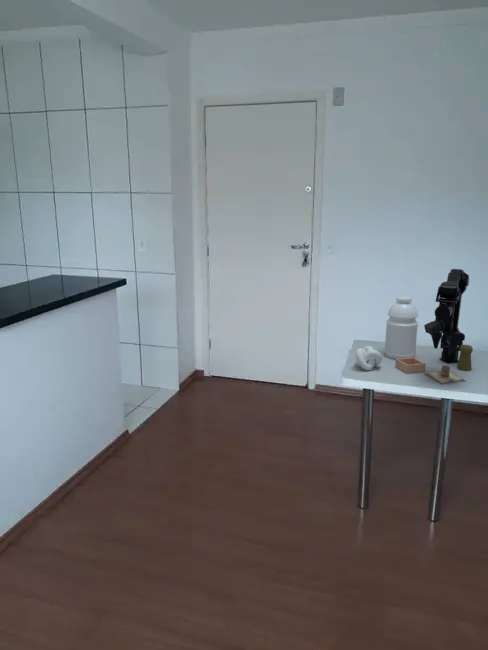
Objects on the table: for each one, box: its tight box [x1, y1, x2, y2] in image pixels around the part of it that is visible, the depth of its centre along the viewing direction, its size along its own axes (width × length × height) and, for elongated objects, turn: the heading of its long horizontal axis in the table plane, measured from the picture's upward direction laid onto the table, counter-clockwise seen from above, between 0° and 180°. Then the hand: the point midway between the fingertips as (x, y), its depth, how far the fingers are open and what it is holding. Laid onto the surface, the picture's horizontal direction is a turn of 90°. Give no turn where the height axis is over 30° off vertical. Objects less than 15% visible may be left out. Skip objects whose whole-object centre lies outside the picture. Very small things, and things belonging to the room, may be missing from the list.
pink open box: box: [394, 357, 427, 375], centre depth 225 cm, size 9×9×4 cm
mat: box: [423, 373, 467, 385], centre depth 216 cm, size 12×12×1 cm
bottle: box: [384, 295, 419, 360], centre depth 242 cm, size 14×14×28 cm
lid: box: [426, 364, 464, 383], centre depth 215 cm, size 10×10×5 cm
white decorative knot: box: [355, 345, 383, 372], centre depth 228 cm, size 11×12×9 cm
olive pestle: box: [456, 344, 474, 372], centre depth 225 cm, size 6×6×11 cm
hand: (442, 351), depth 214 cm, fingers open, 9 cm apart
